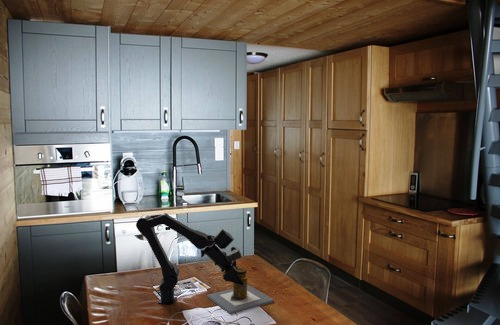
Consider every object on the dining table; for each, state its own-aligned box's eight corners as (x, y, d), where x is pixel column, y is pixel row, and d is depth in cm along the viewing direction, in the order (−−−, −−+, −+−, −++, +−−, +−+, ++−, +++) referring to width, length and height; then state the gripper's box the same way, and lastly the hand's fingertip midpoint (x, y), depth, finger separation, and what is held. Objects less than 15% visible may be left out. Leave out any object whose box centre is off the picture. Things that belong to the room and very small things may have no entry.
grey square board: (230, 314, 167) (230, 311, 167) (206, 297, 184) (206, 294, 184) (273, 301, 179) (273, 299, 179) (248, 286, 196) (248, 284, 196)
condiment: (248, 294, 184) (248, 267, 183) (247, 302, 176) (247, 274, 175) (232, 293, 185) (232, 267, 184) (230, 301, 177) (230, 274, 176)
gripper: (231, 249, 170) (257, 275, 171) (229, 237, 188) (253, 260, 190) (212, 268, 170) (238, 294, 172) (212, 254, 188) (236, 277, 190)
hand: (242, 280), depth 181 cm, fingers open, 9 cm apart
